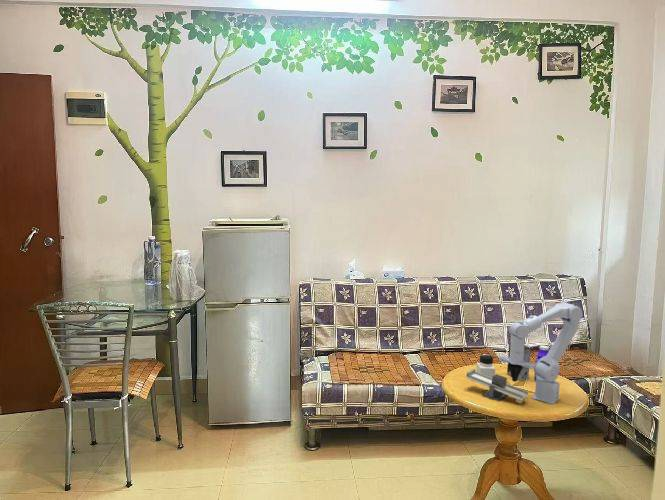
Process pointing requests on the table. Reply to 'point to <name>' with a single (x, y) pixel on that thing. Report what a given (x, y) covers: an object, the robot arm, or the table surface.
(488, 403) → the table surface
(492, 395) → the pivot stand
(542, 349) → the bottle
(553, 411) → the table surface
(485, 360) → the medicine bottle
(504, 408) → the table surface
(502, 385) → the block
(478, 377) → the beam
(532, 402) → the table surface
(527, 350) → the coffee box
